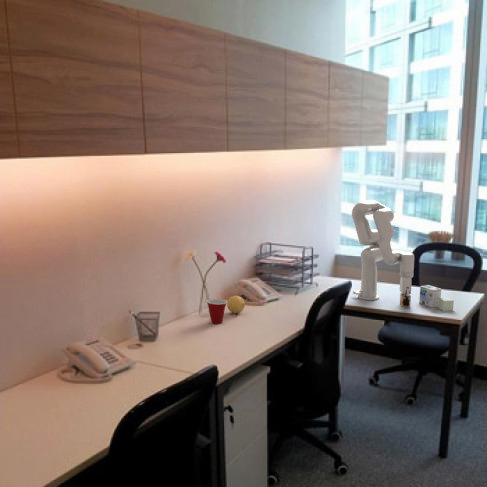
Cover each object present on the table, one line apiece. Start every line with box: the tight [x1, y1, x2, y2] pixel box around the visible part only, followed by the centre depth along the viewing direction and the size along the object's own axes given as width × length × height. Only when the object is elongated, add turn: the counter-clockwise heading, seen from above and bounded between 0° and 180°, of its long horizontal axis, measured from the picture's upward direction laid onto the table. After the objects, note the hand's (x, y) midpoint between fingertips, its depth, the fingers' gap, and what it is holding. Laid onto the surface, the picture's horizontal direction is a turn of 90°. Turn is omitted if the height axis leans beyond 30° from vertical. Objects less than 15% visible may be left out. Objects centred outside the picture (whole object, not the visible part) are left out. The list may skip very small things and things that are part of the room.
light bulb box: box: [418, 284, 442, 308], centre depth 305 cm, size 11×7×11 cm, turn 25°
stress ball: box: [226, 295, 246, 315], centre depth 290 cm, size 10×10×10 cm
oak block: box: [399, 292, 412, 308], centre depth 303 cm, size 5×5×7 cm
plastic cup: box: [206, 298, 228, 325], centre depth 274 cm, size 11×11×12 cm
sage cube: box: [437, 297, 455, 312], centre depth 297 cm, size 6×6×6 cm
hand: (405, 303), depth 303 cm, fingers closed on oak block, 5 cm apart
